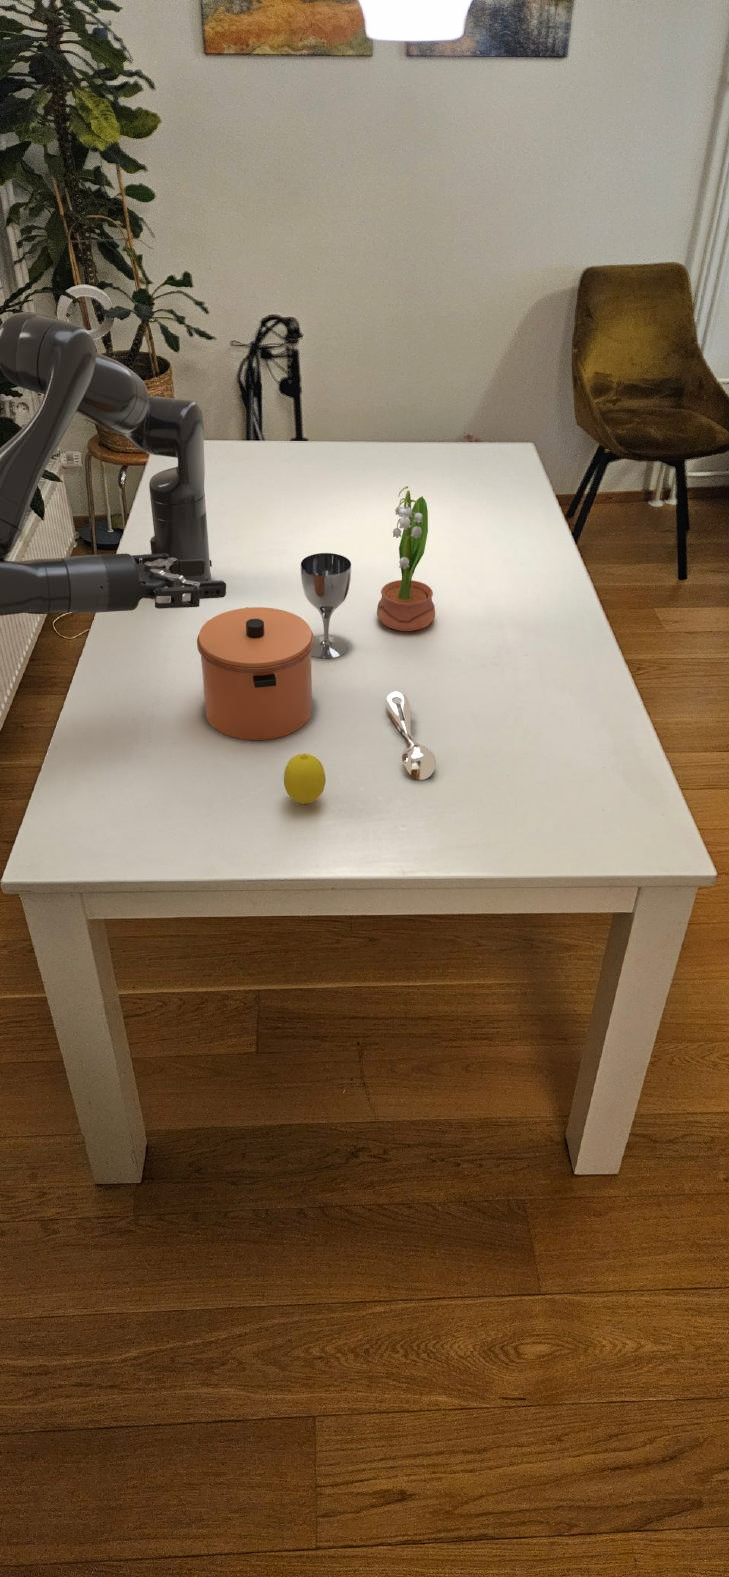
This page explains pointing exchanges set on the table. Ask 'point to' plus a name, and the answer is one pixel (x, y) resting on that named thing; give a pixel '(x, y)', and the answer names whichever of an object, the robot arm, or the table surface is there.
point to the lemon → (304, 778)
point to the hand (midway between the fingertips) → (214, 577)
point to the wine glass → (326, 596)
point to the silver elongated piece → (411, 741)
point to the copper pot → (256, 672)
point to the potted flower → (408, 573)
